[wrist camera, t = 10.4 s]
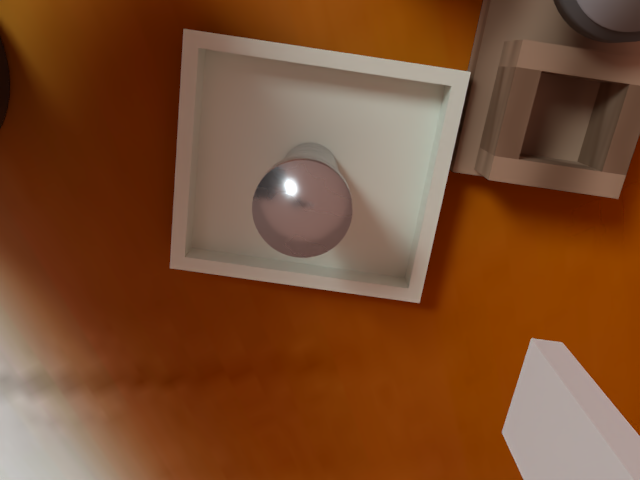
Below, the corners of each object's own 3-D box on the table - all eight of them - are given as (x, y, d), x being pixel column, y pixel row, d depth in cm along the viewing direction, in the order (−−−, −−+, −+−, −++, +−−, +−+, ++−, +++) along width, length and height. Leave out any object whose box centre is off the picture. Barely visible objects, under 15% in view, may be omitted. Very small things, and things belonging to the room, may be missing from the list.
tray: (180, 253, 41) (169, 268, 38) (195, 31, 36) (183, 28, 33) (413, 286, 41) (419, 303, 39) (460, 71, 36) (470, 71, 33)
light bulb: (269, 201, 38) (247, 250, 28) (277, 128, 37) (257, 153, 27) (341, 211, 39) (344, 263, 29) (352, 139, 37) (360, 168, 27)
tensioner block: (446, 166, 38) (474, 192, 31) (506, -105, 33) (558, -155, 25) (596, 188, 39) (661, 219, 31) (680, -78, 33) (783, -119, 26)
